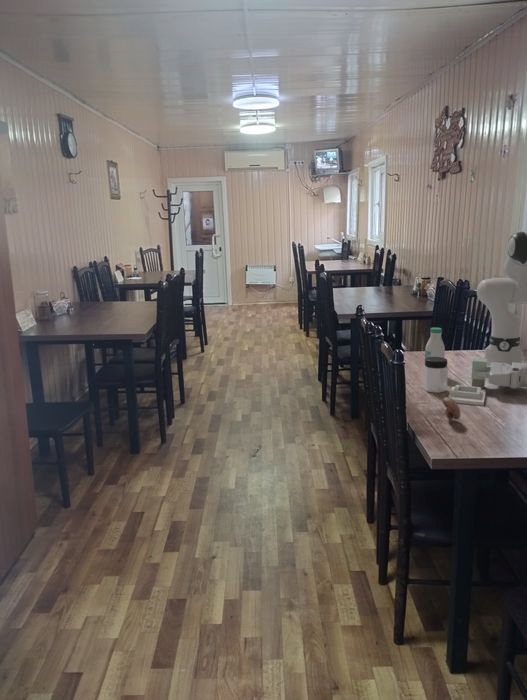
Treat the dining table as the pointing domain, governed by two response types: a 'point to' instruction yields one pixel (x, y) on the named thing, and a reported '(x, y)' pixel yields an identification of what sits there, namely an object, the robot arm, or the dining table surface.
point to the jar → (435, 374)
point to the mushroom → (451, 408)
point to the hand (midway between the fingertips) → (476, 371)
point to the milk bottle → (435, 344)
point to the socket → (468, 395)
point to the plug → (478, 365)
